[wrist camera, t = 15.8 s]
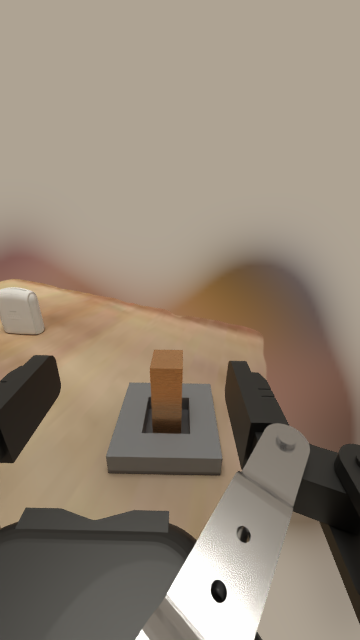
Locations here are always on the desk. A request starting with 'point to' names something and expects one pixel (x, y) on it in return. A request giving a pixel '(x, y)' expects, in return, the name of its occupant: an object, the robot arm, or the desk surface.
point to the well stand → (166, 436)
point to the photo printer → (20, 311)
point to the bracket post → (166, 391)
